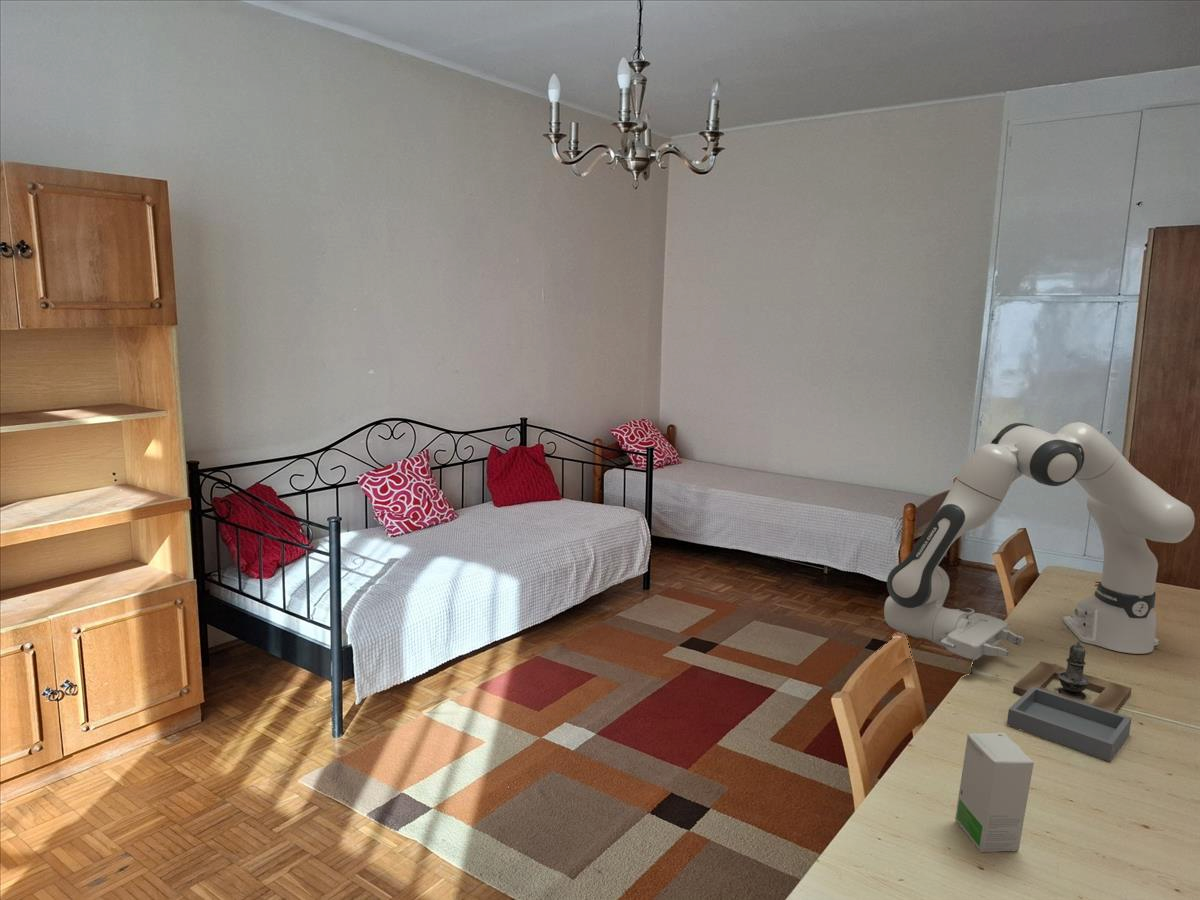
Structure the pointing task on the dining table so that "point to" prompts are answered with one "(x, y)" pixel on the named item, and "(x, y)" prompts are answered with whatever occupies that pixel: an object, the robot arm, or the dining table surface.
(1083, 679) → the dark piece
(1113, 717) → the parts tray
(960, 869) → the dining table surface
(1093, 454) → the robot arm
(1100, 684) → the socket block
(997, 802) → the skincare box
